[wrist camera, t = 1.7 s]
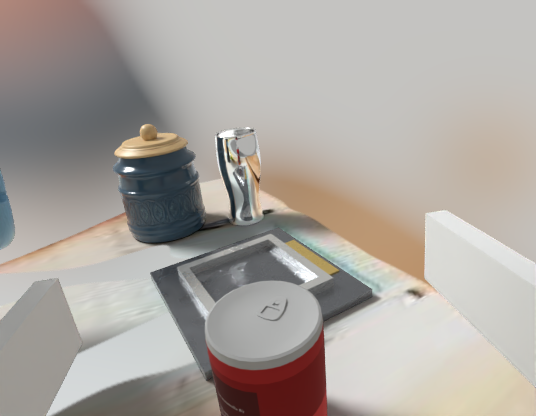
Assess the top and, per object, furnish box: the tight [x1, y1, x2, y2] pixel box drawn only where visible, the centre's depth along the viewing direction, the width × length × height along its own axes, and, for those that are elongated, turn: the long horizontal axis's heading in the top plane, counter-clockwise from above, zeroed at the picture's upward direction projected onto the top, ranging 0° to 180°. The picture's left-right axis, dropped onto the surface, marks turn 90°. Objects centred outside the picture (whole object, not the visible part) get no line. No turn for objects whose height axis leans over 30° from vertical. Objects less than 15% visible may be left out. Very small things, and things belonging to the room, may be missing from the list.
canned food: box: [205, 281, 327, 416], centre depth 27 cm, size 8×8×11 cm
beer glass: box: [215, 128, 264, 226], centre depth 62 cm, size 7×7×15 cm
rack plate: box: [150, 228, 372, 381], centre depth 45 cm, size 20×20×2 cm
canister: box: [113, 124, 206, 243], centre depth 61 cm, size 13×13×18 cm
